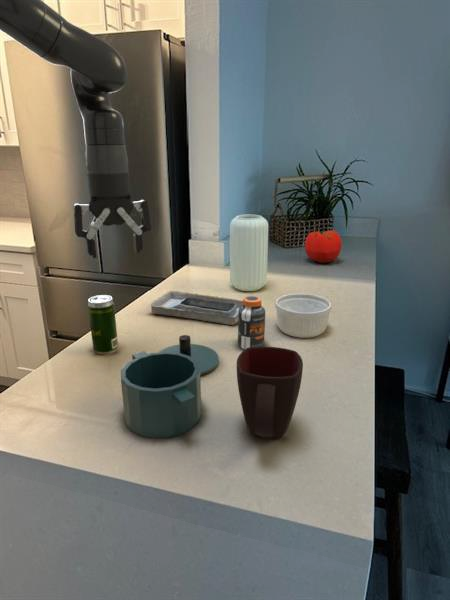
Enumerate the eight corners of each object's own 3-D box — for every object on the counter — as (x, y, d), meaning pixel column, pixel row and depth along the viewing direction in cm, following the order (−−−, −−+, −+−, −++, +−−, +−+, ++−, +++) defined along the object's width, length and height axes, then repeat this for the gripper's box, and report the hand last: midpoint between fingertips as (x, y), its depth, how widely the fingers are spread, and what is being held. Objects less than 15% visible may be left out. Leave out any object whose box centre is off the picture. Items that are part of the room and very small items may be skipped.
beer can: (122, 345, 97) (117, 295, 93) (112, 356, 92) (107, 303, 88) (99, 343, 98) (93, 294, 94) (89, 354, 93) (82, 302, 89)
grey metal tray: (170, 299, 126) (169, 289, 125) (252, 308, 118) (252, 298, 117) (147, 315, 114) (147, 305, 113) (237, 327, 106) (237, 316, 105)
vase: (253, 296, 128) (254, 221, 120) (222, 288, 134) (222, 217, 126) (273, 286, 136) (275, 215, 129) (243, 279, 143) (244, 212, 135)
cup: (299, 412, 73) (303, 348, 69) (297, 470, 60) (302, 396, 56) (241, 406, 74) (241, 344, 70) (227, 462, 62) (227, 389, 57)
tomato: (333, 256, 171) (335, 226, 167) (344, 266, 158) (347, 234, 153) (300, 257, 170) (301, 227, 166) (308, 266, 157) (310, 235, 153)
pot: (152, 459, 62) (148, 409, 59) (108, 401, 76) (103, 358, 73) (224, 428, 69) (224, 381, 66) (171, 380, 83) (169, 340, 80)
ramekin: (322, 344, 97) (324, 316, 94) (266, 334, 102) (267, 307, 100) (334, 323, 108) (336, 297, 106) (283, 315, 113) (284, 290, 111)
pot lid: (172, 387, 80) (170, 359, 78) (141, 359, 91) (139, 333, 89) (231, 367, 88) (231, 340, 86) (196, 343, 98) (196, 319, 96)
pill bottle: (251, 353, 93) (252, 305, 89) (232, 345, 97) (232, 297, 93) (269, 345, 97) (271, 298, 93) (250, 337, 101) (251, 291, 97)
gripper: (141, 168, 86) (146, 247, 92) (66, 170, 81) (76, 254, 86) (150, 170, 80) (155, 255, 85) (69, 172, 74) (81, 263, 80)
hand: (116, 255), depth 86 cm, fingers open, 8 cm apart
